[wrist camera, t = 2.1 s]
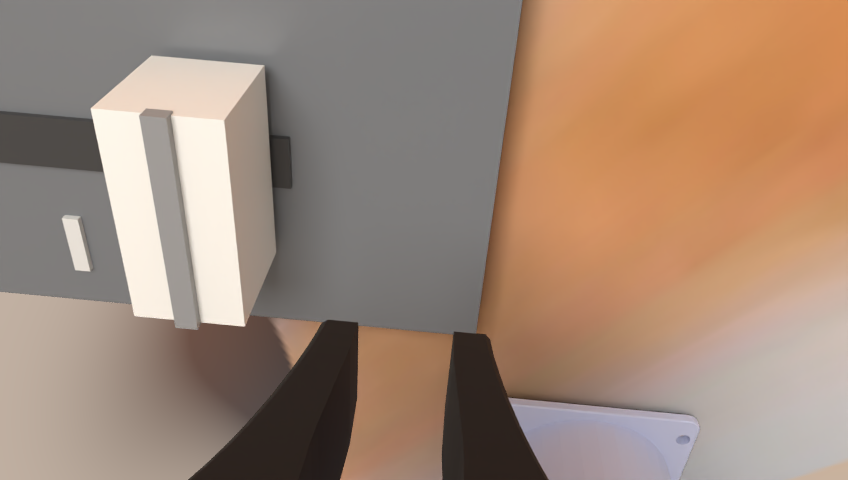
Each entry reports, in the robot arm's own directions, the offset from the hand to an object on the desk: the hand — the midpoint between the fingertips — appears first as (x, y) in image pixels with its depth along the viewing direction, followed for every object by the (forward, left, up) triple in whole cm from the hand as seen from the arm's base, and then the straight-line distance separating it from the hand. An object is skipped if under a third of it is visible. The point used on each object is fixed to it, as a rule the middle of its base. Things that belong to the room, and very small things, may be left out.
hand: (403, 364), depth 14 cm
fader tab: (0, +6, -8) cm, 10 cm away
